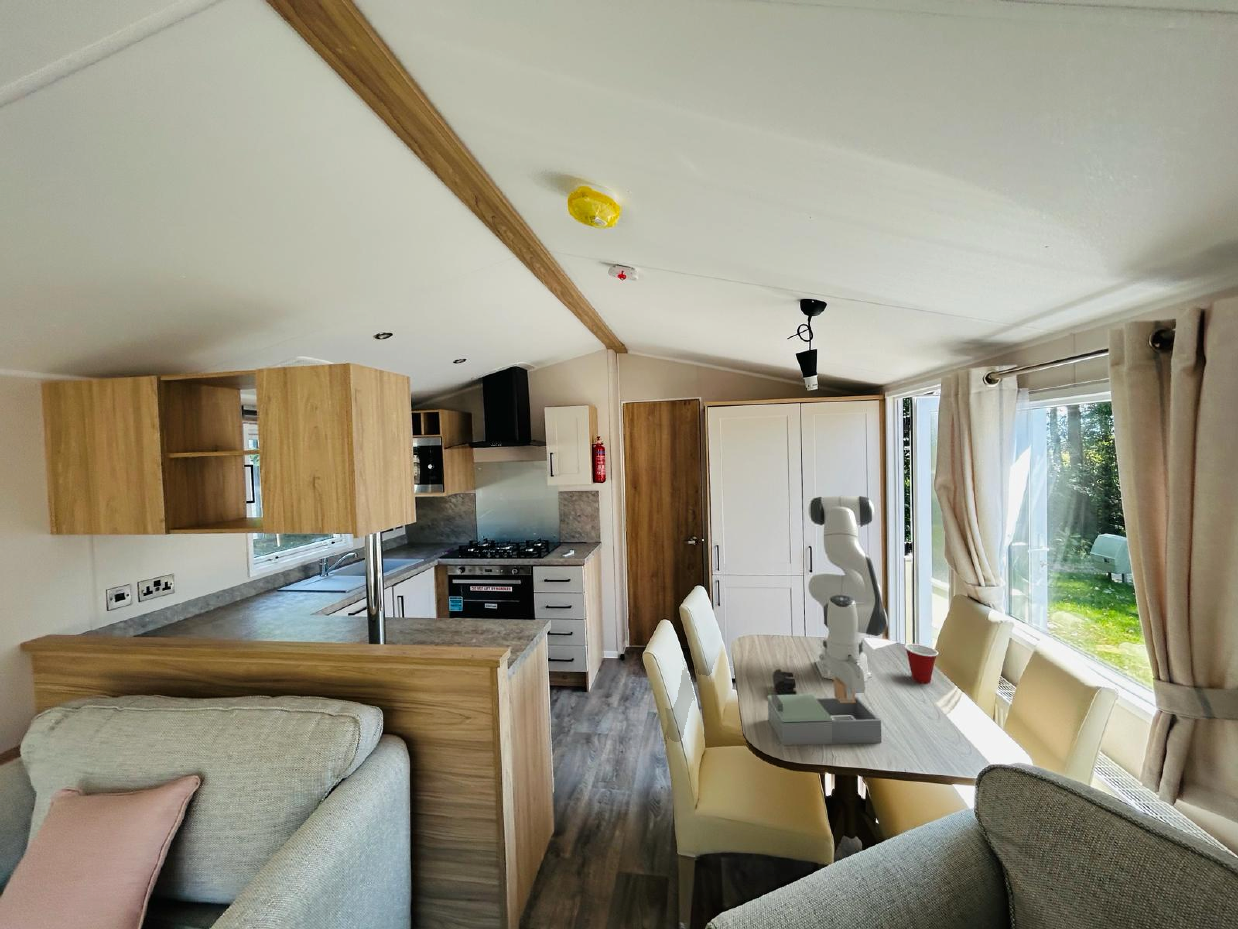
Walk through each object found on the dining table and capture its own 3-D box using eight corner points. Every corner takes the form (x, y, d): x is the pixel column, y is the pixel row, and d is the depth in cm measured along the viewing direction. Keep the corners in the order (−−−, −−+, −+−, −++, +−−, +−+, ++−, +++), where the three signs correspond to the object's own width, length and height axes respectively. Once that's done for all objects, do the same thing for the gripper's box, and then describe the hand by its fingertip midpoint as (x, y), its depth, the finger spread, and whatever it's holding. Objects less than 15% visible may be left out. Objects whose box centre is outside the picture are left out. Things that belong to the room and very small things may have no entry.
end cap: (772, 686, 184) (772, 668, 184) (792, 687, 183) (792, 669, 183) (775, 699, 175) (774, 680, 175) (796, 700, 173) (795, 681, 173)
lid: (767, 698, 161) (767, 688, 161) (812, 697, 161) (812, 687, 161) (782, 722, 146) (781, 711, 146) (831, 720, 146) (831, 710, 146)
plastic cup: (942, 688, 178) (941, 655, 178) (908, 684, 182) (907, 652, 182) (935, 675, 188) (934, 644, 188) (903, 672, 192) (902, 641, 192)
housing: (768, 719, 161) (767, 699, 161) (858, 716, 161) (857, 697, 161) (782, 745, 146) (782, 723, 146) (881, 742, 146) (880, 720, 146)
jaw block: (834, 696, 156) (833, 678, 156) (848, 695, 156) (848, 678, 156) (840, 703, 151) (840, 685, 151) (855, 702, 151) (854, 684, 151)
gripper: (870, 662, 143) (871, 710, 143) (839, 638, 163) (840, 679, 163) (848, 663, 143) (849, 711, 143) (820, 638, 163) (821, 680, 163)
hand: (844, 694), depth 153 cm, fingers closed on jaw block, 4 cm apart
